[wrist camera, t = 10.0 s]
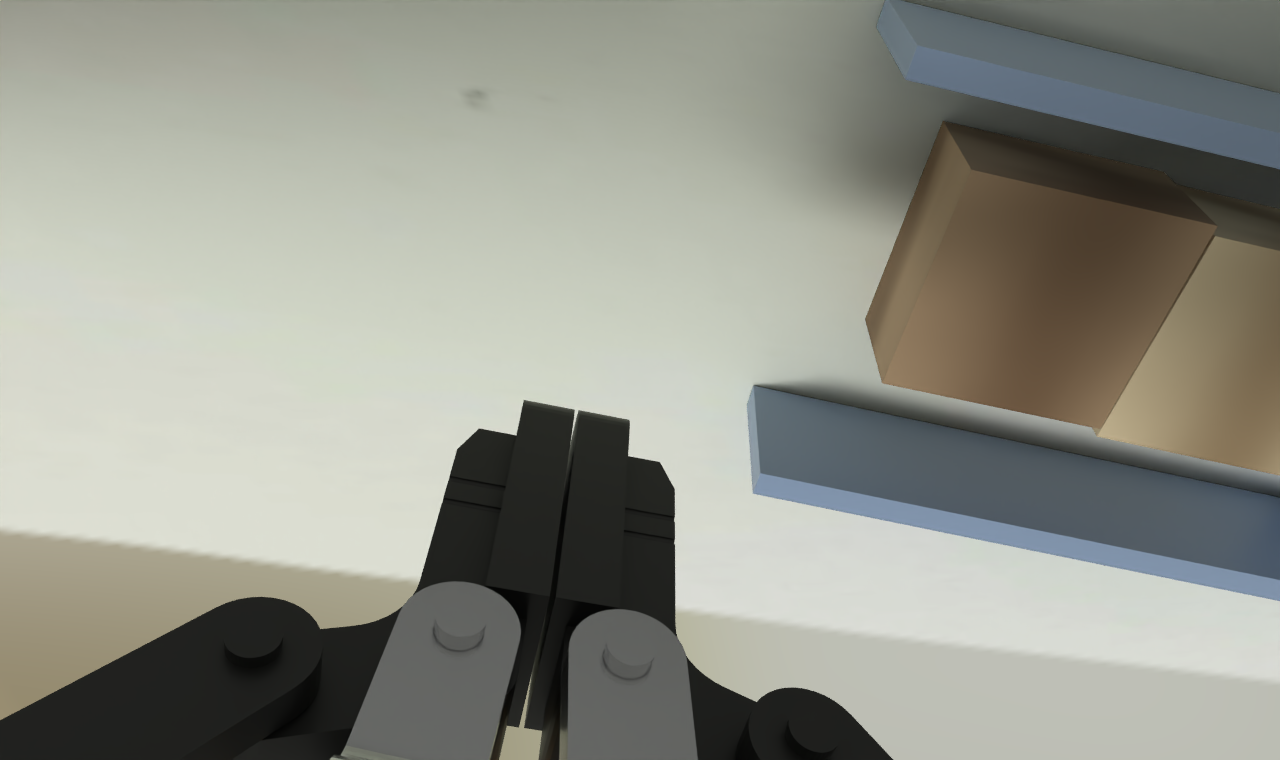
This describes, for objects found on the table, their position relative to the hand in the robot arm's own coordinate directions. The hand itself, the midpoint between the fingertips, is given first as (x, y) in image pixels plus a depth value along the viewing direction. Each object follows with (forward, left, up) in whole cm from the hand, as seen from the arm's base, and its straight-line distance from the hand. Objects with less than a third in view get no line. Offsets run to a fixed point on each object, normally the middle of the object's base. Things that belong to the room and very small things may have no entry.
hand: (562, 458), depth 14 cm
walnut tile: (+8, -5, -10) cm, 14 cm away
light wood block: (+12, -8, -10) cm, 17 cm away
